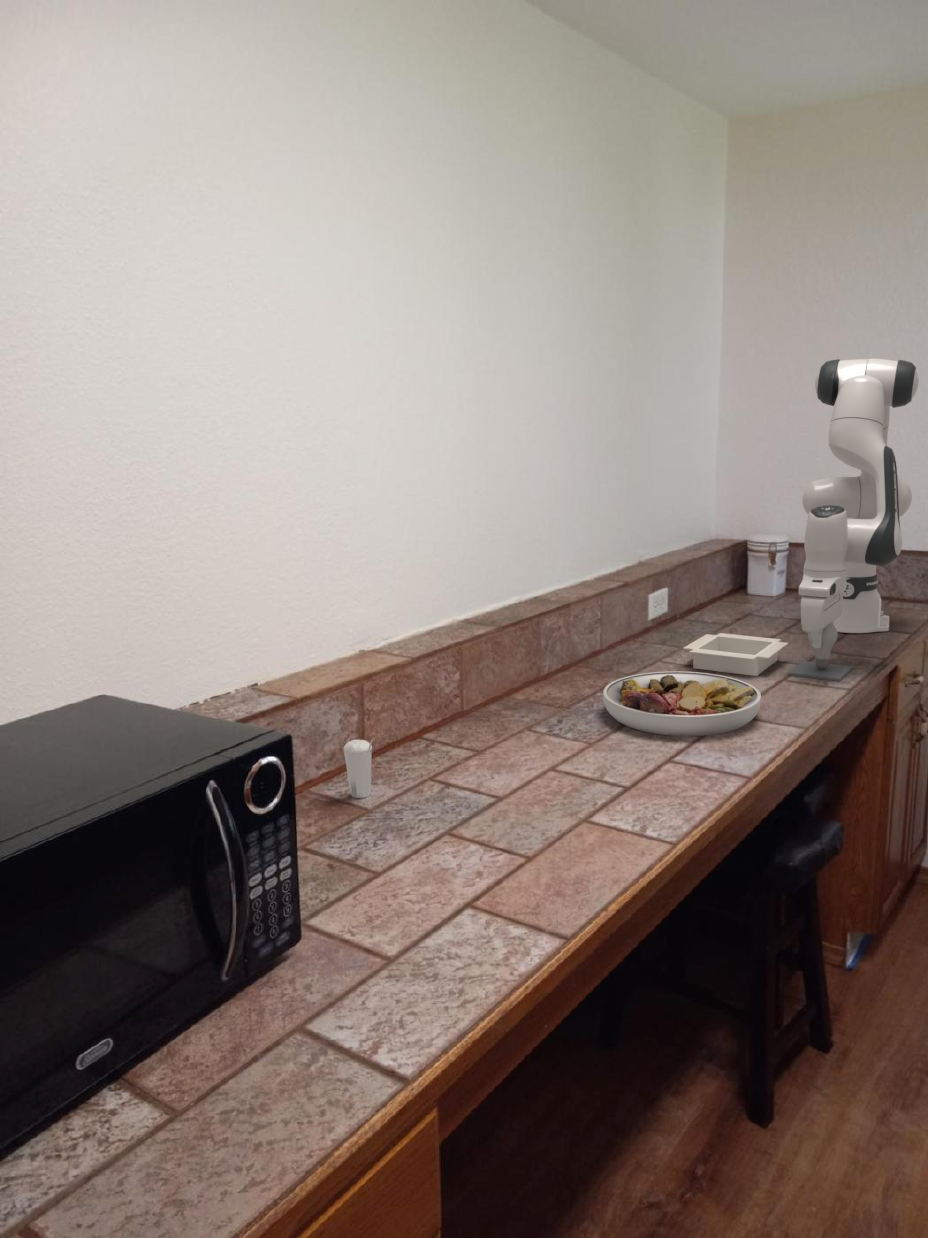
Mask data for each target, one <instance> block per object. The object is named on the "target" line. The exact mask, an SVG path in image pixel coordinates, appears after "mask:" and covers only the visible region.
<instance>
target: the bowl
mask: <svg viewBox="0 0 928 1238" xmlns="http://www.w3.org/2000/svg"><path fill="white" fill-rule="evenodd" d="M602 698H603V704H604V707H605V709H606V710H607V712H608V713H609V715H611V716H612V717H613V718H614V719H615V720H616V721H618V722H619V723H621V724H622V725H624V726H627V727H628V728H631V729H634V730H637V731H641V732H645V733H649V734H656V735H661V736H670V737H673V736H674V737H703V736H704V737H705V736H712V735H713V736H714V735H720V734H724V733H728V732H732V731H734V730H738V729H740V728H742V727H744V726H745V725H747V724H749V723H750V722H751V721H752V720H753V719H754V718H755V717H756V716H757V714H758V713H759V711H760V708H761V704H762V694H761V692H760V690H759V689H758V688H756V687H755V686H754V685H752V684H750V683H748V682H746V681H743V680H740V679H737V678H734V677H730V676H726V675H721V674H714V673H707V672H697V671H679V670H678V671H674V670H673V671H672V670H670V671H655V672H654V671H653V672H645V673H638V674H632V675H629V676H625V677H621V678H617V679H615V680H613V681H610V683H608V684H606V686H605V687H604V688H603V691H602Z"/></svg>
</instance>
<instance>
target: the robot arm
mask: <svg viewBox="0 0 928 1238" xmlns="http://www.w3.org/2000/svg"><path fill="white" fill-rule="evenodd" d="M917 371H918V370H917V367H916V366H915V364H914V363H913V362H911V361H908V360H904V359H903V360H902V359H898V360H892V359H886V358H885V359H884V358H873V357H872V358H858V359H857V358H856V359H855V358H853V359H852V358H851V359H843V360H840V359H839V358H838V359H832V360H827V361H825V363H823V364H822V365H821V366H820V369H819V371H818V373H817V375H816V378H815V383H814V386H815V393H816V394H817V395H816V396H817V399H818V400H819V401H820V402H821V403H822V404H824V405H827V406H831V407H833V409H832V413H831V419H830V424H829V431H828V432H829V433H828V446H829V449H830V452H831V453H832V454H833V456H834V457H836V458H837V459H838V460H839V461H841V462H842V463H843V464H845V465H847V466H849V467H851V468H853V469H854V468H855V469H857V470H860V471H861V472H860V475H859V476H837V477H836V476H834V477H833V476H831V477H827V478H819V479H816V480H812V481H810V482H809V483H808V484H807V486H806V488H805V490H804V491H803V495H802V507H803V508H804V511H805V513H806V514H807V520H806V527H805V532H804V535H805V536H804V547H803V548H804V552H805V553H804V554H805V562H804V564H803V575H802V580H801V582H800V584H799V585H798V596H801V598H800V624H801V628H802V631H803V632H806V633H808V632H811V636H812V640H813V644H811V646H812V648H813V647H814V648H821V647H822V645H823V639H822V632H823V629H824V628H825V627H826V626H828V625H829V624H830V623H832V624H833V625H834V626H835V628H836V629H837V633H845V634H846V633H847V634H868V633H875V632H876V633H877V632H889V631H890V616H889V615H888V614H887V615H886V614H885V611H884V610H882V598H881V595H880V592H879V591H878V587H879V584H878V583H879V579H878V572H877V566H878V567H885V566H887V565H889V564H891V563H892V562H894V561H895V560H896V559H897V558H899V557H900V555H901V551H902V549H903V548H902V547H903V537H902V532H901V531H902V530H901V524H900V517H902V516H904V515H905V514H906V512H907V511H908V510H909V508H910V506H911V503H912V496H913V495H912V491H911V488H910V486H909V484H908V483H907V481H906V480H905V479H904V478H902V477H901V476H899V475H898V468H897V467H898V466H897V460H896V455H895V453H894V450H893V449H892V447H890V446H888V434H889V427H890V426H889V425H890V413H891V408H890V407H892V408H893V409H894V408H900V407H905V406H906V405H908V404H910V403H911V402H912V400H913V398H914V396H915V395H916V393H917V391H918V387H919V375H918V372H917Z"/></svg>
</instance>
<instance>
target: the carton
mask: <svg viewBox="0 0 928 1238" xmlns="http://www.w3.org/2000/svg"><path fill="white" fill-rule="evenodd" d="M789 644H790V643H789V642H786V641H785V642H783V641H782V639H780V638H771V637H761V636H751V635H743V634H735V633H734V634H733V633H724V632H723V633H722V632H720V633H718V634H708V633H706V634H704V635H702V636H701V637H699V638H697V639H696V640H694V641H692V642H690V643H689V644H687V645H686V646H684V647H683V648H682V649H683V650H688V651H689V650H690V651H689V654H693V655H692V656H693V658H692V659H693V663H692V666H693V669H699V670H705V671H713V672H719V673H720V672H722V673H729V674H735V675H736V674H737V675H743V676H744V675H745V676H752V677H758V676H759V675H760V674H761V673H763V672H764V671H765V670H767V669H768V668H769V667H771V666H772V665H773V664H775V663H776V662H777V661H778V653H779V652H780V651H782V650H783V649H784V648H786V647H787V646H788V645H789Z"/></svg>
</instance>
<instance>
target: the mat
mask: <svg viewBox="0 0 928 1238" xmlns="http://www.w3.org/2000/svg"><path fill="white" fill-rule="evenodd" d="M853 669H854V667H853V666H851V665H845V664H836V663H835V664H834V663H828V667H827V668H825V669H824V670H821V669H819V668H818V667H816V661H810V660H809V661H808V660H807V661H806V660H802V661H800V662H799V663H798V664H796V666H794V667H793V668H791V669H790V670H789V671H788V672H787V675H788V676H793V677H801V678H808V679H816V680H817V679H818V680H826V681H834V682H842V680H843V679H844V678H845V677H846V676H847V675H848V674H849V673H850V672H851V671H853Z"/></svg>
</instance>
